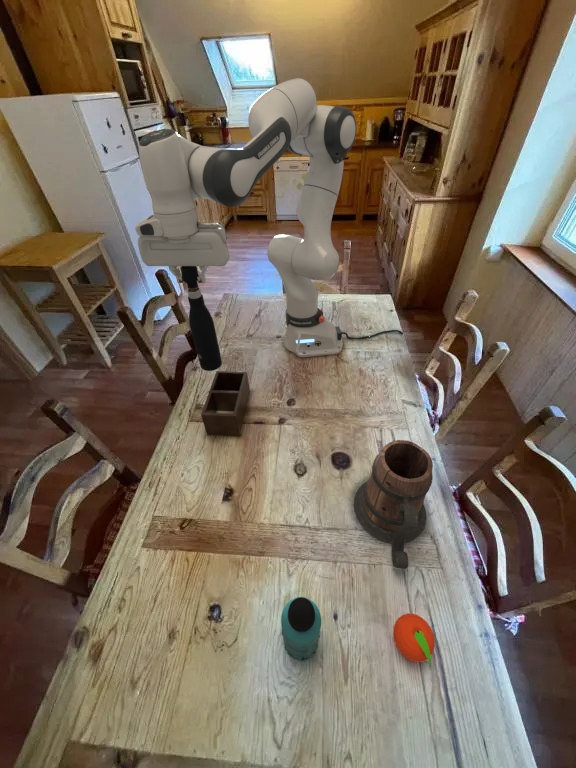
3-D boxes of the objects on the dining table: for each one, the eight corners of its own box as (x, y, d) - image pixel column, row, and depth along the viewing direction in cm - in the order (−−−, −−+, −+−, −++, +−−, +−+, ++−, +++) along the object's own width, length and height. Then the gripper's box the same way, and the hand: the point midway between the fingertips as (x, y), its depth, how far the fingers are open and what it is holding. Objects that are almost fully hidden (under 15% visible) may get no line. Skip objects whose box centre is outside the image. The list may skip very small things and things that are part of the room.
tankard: (352, 474, 88) (361, 424, 75) (419, 480, 87) (441, 429, 73) (355, 572, 71) (367, 529, 58) (439, 581, 70) (471, 539, 56)
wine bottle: (224, 358, 104) (205, 261, 83) (219, 371, 99) (197, 272, 79) (203, 357, 104) (179, 261, 84) (197, 370, 100) (170, 272, 79)
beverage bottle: (282, 622, 65) (276, 588, 52) (316, 619, 65) (319, 584, 52) (284, 666, 60) (279, 641, 47) (321, 662, 61) (327, 636, 47)
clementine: (441, 662, 60) (453, 655, 55) (407, 680, 59) (416, 673, 54) (414, 612, 66) (423, 601, 61) (382, 627, 64) (389, 617, 59)
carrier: (250, 391, 113) (247, 371, 107) (239, 436, 99) (235, 416, 93) (221, 390, 113) (216, 370, 108) (207, 435, 100) (200, 414, 94)
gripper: (227, 217, 76) (235, 276, 85) (139, 218, 78) (157, 276, 87) (221, 227, 71) (230, 288, 81) (127, 227, 73) (147, 287, 82)
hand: (191, 282), depth 84 cm, fingers closed on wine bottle, 4 cm apart
